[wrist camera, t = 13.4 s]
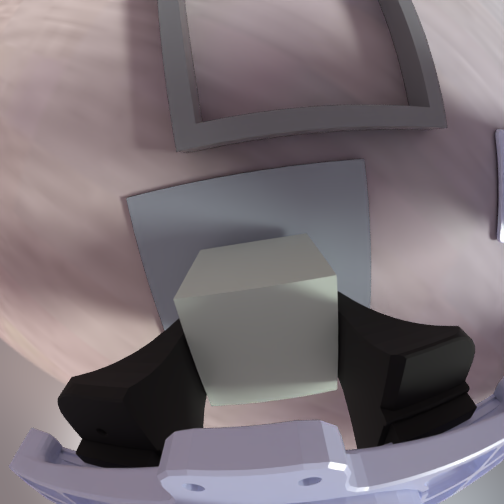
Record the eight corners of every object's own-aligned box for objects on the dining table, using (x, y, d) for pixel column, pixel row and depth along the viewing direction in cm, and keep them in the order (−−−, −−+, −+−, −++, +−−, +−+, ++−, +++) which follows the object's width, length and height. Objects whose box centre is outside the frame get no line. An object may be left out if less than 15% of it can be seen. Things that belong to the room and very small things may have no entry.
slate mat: (361, 158, 13) (364, 158, 12) (364, 351, 16) (366, 355, 16) (129, 196, 13) (126, 198, 13) (185, 377, 17) (184, 381, 17)
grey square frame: (370, -43, 8) (380, -58, 6) (426, 129, 12) (447, 127, 10) (164, -34, 9) (155, -51, 7) (187, 153, 13) (176, 151, 11)
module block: (306, 233, 13) (336, 275, 8) (314, 323, 14) (336, 389, 10) (200, 250, 13) (173, 299, 8) (221, 337, 15) (211, 405, 10)
